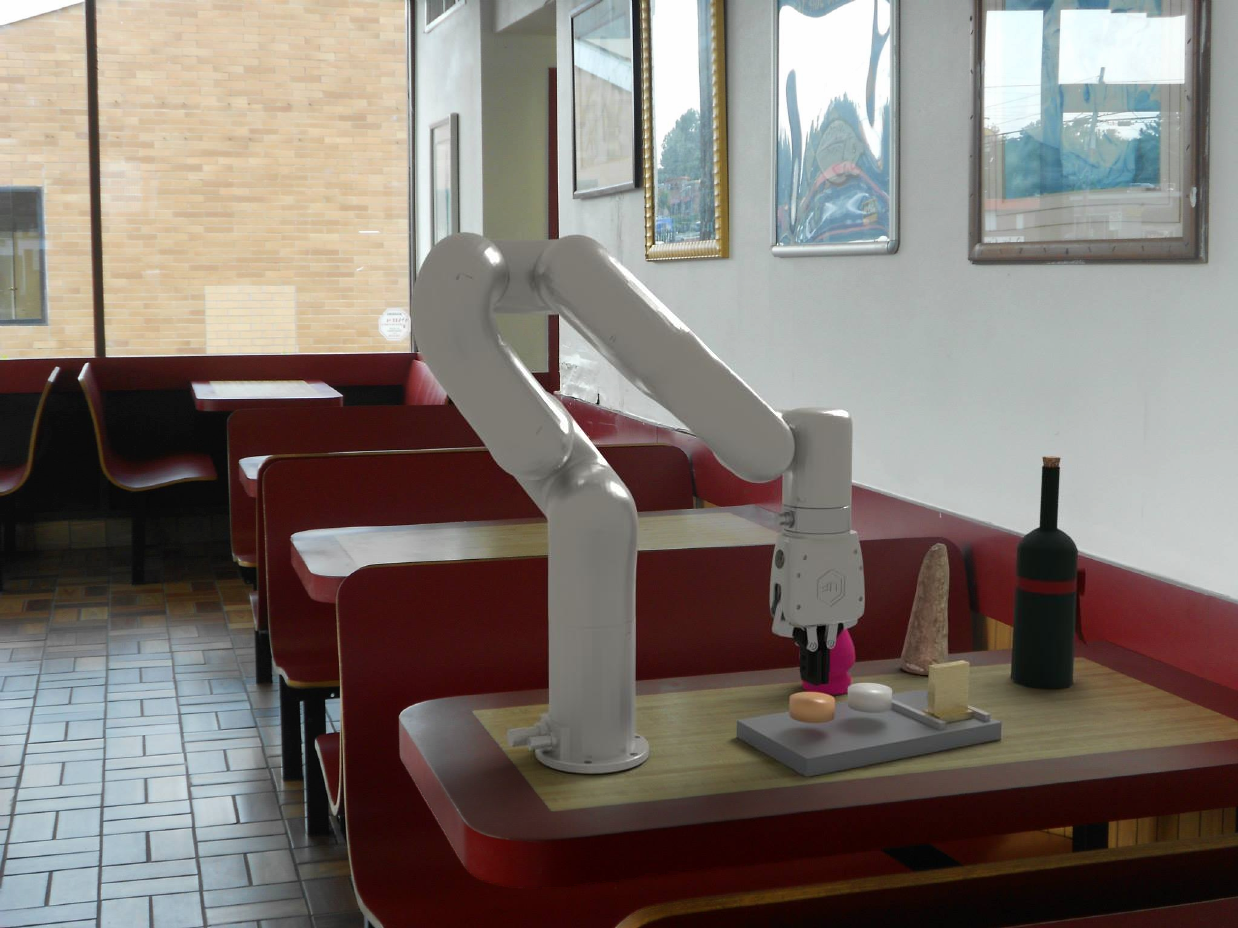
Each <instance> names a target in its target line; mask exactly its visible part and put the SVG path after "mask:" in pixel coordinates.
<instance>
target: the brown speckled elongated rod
mask: <svg viewBox="0 0 1238 928" xmlns="http://www.w3.org/2000/svg"><path fill="white" fill-rule="evenodd" d="M949 590H950V566H949V558H948V550H947V546H946V545H945V543H940V542H939V543H938V542H937V543H935V545H933V546H931V547H930V548H929V550H928V551H927V552H926V554H925V556H924V558H923V561H922V564H921V566H920V570H919V573H918V577H917V585H916V592H915V596H914V598H913V599H914V600H913V603H912V608H911V612H910V618H909V621H908V624H907V625H908V626H907V631H906V635H905V637H904V638H905V640H904V644H903V648H902V652H901V655H900V668H901V669H902V670H904V671H905V672H907V673H908V674H909V673H910V674H915V675H921V676H929V665H935V664H942V663H948V662H950V660H949V647H948V646H949V643H948V640H949V639H948V635H949V627H948V626H949V623H948V599H949Z"/></svg>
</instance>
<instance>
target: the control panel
mask: <svg viewBox="0 0 1238 928" xmlns="http://www.w3.org/2000/svg"><path fill="white" fill-rule="evenodd" d="M925 709H928V690H924V689H915V690H911V691H910V690H909V691H904V692H898V693H892V708H891V710H889V711H886V712H882V713H866V712H859V711H856V710H853V709H851V708H849V707H848V705H847V701H844V702H838V703H835V715H834V719H833V720H831V721H829V722H824V723H806V722H801V721H797V720H794V719H792V718H791V717H790V716H789V711H784V712H778V713H772V714H766V715H760V716H755V717H753V716H752V717H749V718H748V717H747V718H742V719H737V720H736V738H738V739H739V740H740V741H742V742H744V743H745V744H748V745H749V746H752V747H753V748H755V749H757V750H759V751H760V752H762V753H764V754H766V755H768V756H769V757H771V758H773V760H774V759H775V760H776V761H778V762H780V763H781V764H783V765H784V766H787V767H788V768H790V769H792V770H794V771H795V772H797V773H798V774H800V775H802V776H804V777H806V778H808V777H813V776H814V777H815V776H818V775H819V776H820V775H824V774H829V773H833V772H839V771H840V772H841V771H845V770H849V769H854V768H855V769H856V768H860V767H865V766H869V765H875V764H880V763H885V762H891V761H895V760H899V759H901V760H902V759H906V758H910V757H916V756H923V755H927V754H931V753H936V752H942V751H947V750H950V749H951V750H952V749H956V748H957V749H958V748H962V747H967V746H971V745H972V746H973V745H977V744H982V743H988V742H994V741H998V740H1001V739H1002V725H1003V724H1002V721H1000V720H997V719H995V718H993V717H991V713H990V712H987V711H984V710H982V709H980V708H977V707H974V706H971V705H969V704H968V709H969V710H972V711H973V718H970V719H965V720H959V721H954V722H949V723H946V722H944V721H942V720H940V719H937V718H935V717H933V716H930V715H928V714H926V713H924V712H922V710H925Z"/></svg>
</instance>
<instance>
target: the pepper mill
mask: <svg viewBox="0 0 1238 928" xmlns="http://www.w3.org/2000/svg"><path fill="white" fill-rule="evenodd" d="M798 654H799V655H798V658H799V660H800V651H799V653H798ZM855 662H856V650H855V646H854V642H853V639H852V637H851V636H850V633H849V631H848V628H847V629H845V630H843V631H842V632H841V633H840V635H839V636H838V637H837V639H836V643H835V646H834V647H833V648H832V649H830V672H829V683H828V684H825V685H823V684H821V685H819V686H814V685H812V684H810V683H808V682H805V681H803V680H802V679H801V680H802V681H801V683H802V684H801V686H802V689H803V690H804V691H805V692H818V693H824V694H828V695H830V696H838V695H843V694H848V686H850V685H852V677H851V675H850V674H849V673H848V671H850V669H851V668H852V667H853V666H854V664H855Z"/></svg>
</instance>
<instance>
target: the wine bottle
mask: <svg viewBox="0 0 1238 928" xmlns="http://www.w3.org/2000/svg"><path fill="white" fill-rule="evenodd" d="M1041 458H1042V466H1041V481H1040V483H1041V485H1040V506H1039V507H1040V509H1039V511H1040V512H1039V527H1037V528H1034V529H1032V530H1031V531H1030V532H1028V533H1026V534H1024V536H1023V538H1022V539H1020V541H1019V543H1018V545H1017V547H1016V563H1015V564H1016V565H1015V583H1014V601H1013V602H1014V604H1013V626H1012V641H1011V642H1012V647H1011V663H1010V664H1011V665H1010V667H1011V668H1010V679H1011V680H1012V681H1013V683H1016V684H1018V685H1022V686H1025V687H1028V688H1034V689H1039V690H1040V689H1041V690H1061V689H1065V688H1070V687H1071V686H1072V684H1074V683H1073V682H1074V663H1075V661H1074V660H1075V639H1076V638H1075V635H1076V637H1077V639H1078V642H1079V644H1080V645H1081V644H1082V643H1083V644H1084V645H1085V647H1088V645H1087V642H1086V639H1085V636H1084V634H1083V629H1082V628H1083V627H1082V614H1081V597H1084V595H1085V592H1086V577H1087V576H1086V568H1085V567H1078V561H1079V560H1078V559H1079V549H1078V547H1077V544H1076V542H1075V541H1074V540H1073V539H1072V537H1071V536H1070V535H1068V533H1066V532H1064V531H1063V530H1061V529H1059V528H1058V523H1059V522H1058V518H1059V499H1060V498H1059V496H1060V495H1059V494H1060V475H1061V474H1060V472H1061V467H1060V463H1061V457H1059V456H1052V455H1050V456H1042V457H1041Z"/></svg>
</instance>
